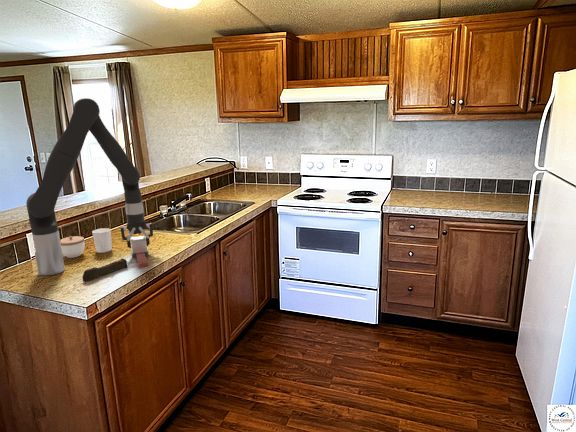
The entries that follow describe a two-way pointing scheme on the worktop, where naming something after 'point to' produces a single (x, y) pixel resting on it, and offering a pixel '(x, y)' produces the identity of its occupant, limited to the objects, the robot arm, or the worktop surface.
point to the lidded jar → (72, 246)
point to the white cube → (138, 244)
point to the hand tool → (103, 270)
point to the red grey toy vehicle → (141, 258)
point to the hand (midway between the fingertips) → (138, 246)
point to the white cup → (102, 240)
